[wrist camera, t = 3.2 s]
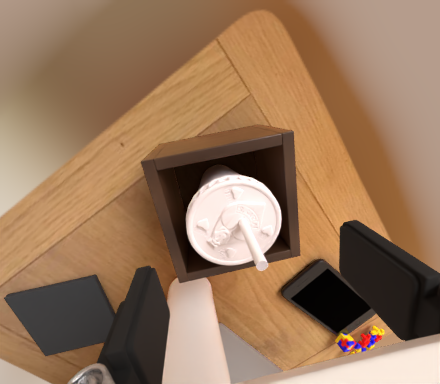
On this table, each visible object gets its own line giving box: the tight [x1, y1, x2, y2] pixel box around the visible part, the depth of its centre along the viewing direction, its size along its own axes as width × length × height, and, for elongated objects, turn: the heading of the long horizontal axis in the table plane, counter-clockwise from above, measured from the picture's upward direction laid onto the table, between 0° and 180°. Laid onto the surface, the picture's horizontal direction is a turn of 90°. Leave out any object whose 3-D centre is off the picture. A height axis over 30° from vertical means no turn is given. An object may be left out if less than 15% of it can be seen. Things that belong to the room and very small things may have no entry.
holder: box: [141, 125, 300, 283], centre depth 19 cm, size 10×10×8 cm
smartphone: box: [281, 259, 376, 336], centre depth 30 cm, size 7×15×1 cm, turn 47°
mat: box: [4, 275, 115, 356], centre depth 26 cm, size 10×10×1 cm
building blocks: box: [335, 326, 384, 355], centre depth 34 cm, size 6×8×2 cm
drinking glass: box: [162, 277, 231, 384], centre depth 20 cm, size 7×7×15 cm
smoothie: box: [186, 165, 282, 270], centre depth 17 cm, size 6×6×14 cm
